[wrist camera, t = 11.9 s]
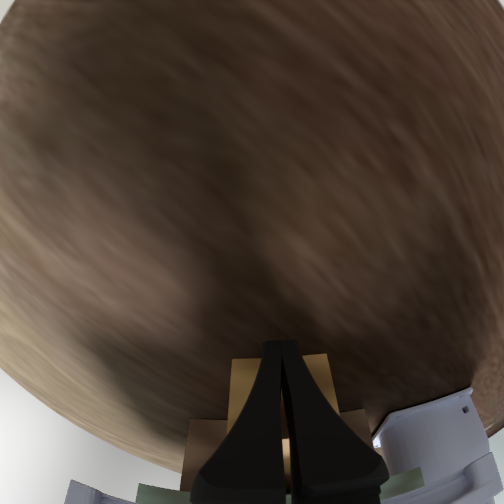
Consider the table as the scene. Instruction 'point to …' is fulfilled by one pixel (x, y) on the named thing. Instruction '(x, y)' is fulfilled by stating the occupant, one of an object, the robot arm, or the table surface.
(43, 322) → the table surface
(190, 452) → the socket shed
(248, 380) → the peg
